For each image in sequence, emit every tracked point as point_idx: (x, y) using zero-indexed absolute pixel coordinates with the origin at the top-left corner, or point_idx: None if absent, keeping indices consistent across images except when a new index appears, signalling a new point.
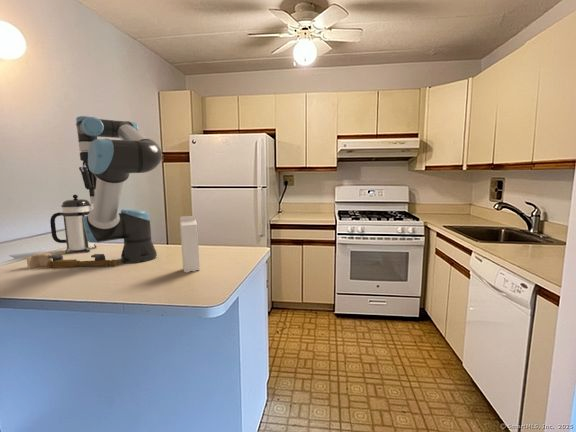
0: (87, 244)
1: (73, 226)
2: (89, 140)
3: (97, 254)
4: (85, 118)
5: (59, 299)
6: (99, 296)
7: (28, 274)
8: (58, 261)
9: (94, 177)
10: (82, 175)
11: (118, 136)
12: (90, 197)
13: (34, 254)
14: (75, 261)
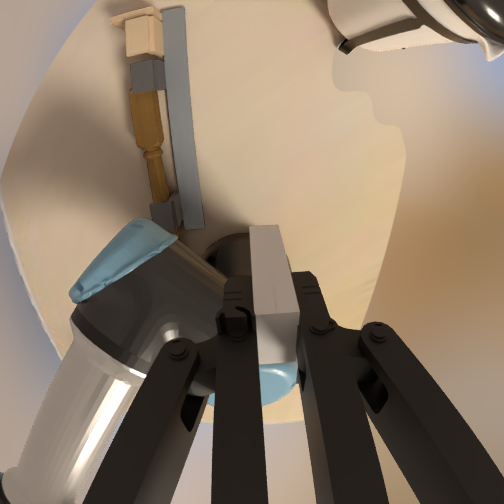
0: (357, 44)
1: None
2: None
3: (165, 215)
4: None
5: (22, 276)
6: (49, 317)
7: (81, 79)
8: (132, 103)
9: (315, 492)
10: (89, 500)
11: None
12: (251, 258)
13: (125, 21)
14: (146, 149)
